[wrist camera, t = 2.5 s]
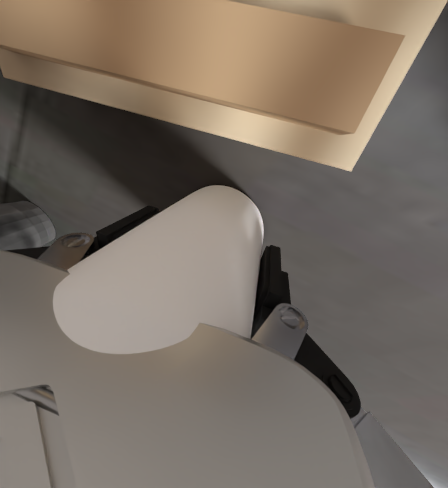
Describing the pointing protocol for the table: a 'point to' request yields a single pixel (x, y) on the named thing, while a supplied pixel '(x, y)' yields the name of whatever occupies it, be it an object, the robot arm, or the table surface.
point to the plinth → (227, 63)
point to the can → (164, 280)
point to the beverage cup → (24, 226)
